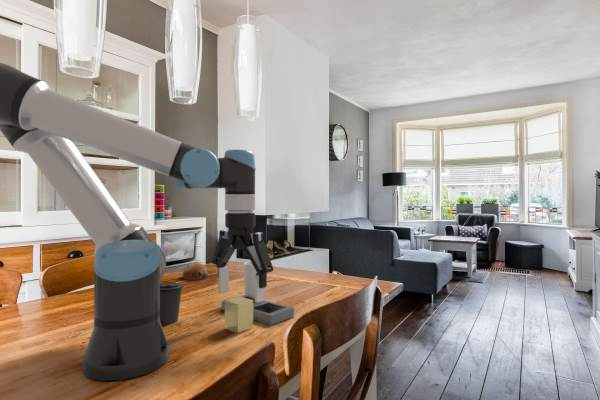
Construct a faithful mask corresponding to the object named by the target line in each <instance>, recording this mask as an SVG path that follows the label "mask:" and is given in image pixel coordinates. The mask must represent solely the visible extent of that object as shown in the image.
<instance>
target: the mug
mask: <svg viewBox="0 0 600 400" xmlns="http://www.w3.org/2000/svg"><path fill="white" fill-rule="evenodd" d="M243 266H244V267H243V277H244V279H243V281H244V282H243V283H244V285H243V287H244V288H243V290H244V291H243V294H244V295H246V296H250V297H254V298H255V274H256V273H257V272H256V270H255V268H254V266H253V264H252V262H251V261H245V262H244V264H243ZM244 295H243V296H244Z"/></svg>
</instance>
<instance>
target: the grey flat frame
mask: <svg viewBox="0 0 600 400" xmlns="http://www.w3.org/2000/svg"><path fill="white" fill-rule="evenodd" d="M237 297H238V296H236V297H235V298H237ZM239 297H243V298H247V299H251V300H253V321H255V322H259V323H262V324H265V325H268V326H273V325H277V324H279V323H282V322H285V321H287V320H290V319H292V318H294V317H295V316H294V315H295V308H294V307H292V306H287V305H283V304H280V303H277V302H273V301H268V300H266V299H265V300H264V301H260V302H255V298H254V297H250V296H246V295H240V296H239ZM233 298H234V297H233ZM233 298H231V299H233ZM229 299H230V298H228V299H226V300H229ZM226 300H222V301H221V311H224V312H225V301H226ZM269 312H270V313H269Z"/></svg>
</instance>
